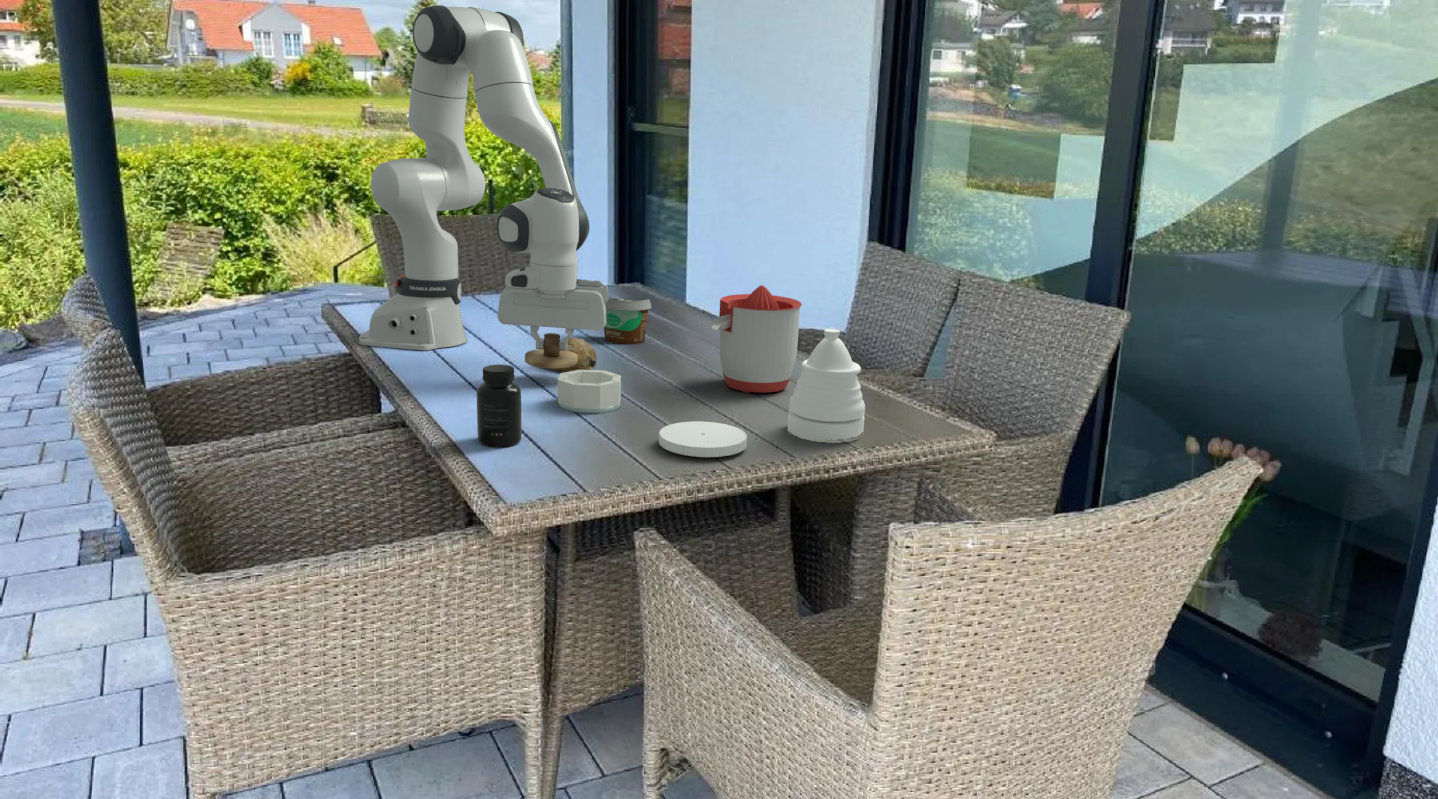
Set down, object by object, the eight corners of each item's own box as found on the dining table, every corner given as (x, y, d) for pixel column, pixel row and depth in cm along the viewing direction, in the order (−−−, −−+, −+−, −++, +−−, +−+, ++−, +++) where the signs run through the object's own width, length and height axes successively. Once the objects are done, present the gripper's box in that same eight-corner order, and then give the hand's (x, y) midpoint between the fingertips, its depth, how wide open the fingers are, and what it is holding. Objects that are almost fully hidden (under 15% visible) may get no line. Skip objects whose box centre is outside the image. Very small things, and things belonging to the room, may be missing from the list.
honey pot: (861, 446, 176) (870, 339, 171) (783, 439, 178) (790, 332, 173) (864, 425, 188) (873, 324, 184) (791, 418, 190) (798, 318, 186)
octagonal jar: (554, 412, 187) (554, 384, 186) (562, 395, 198) (562, 368, 196) (618, 414, 187) (618, 386, 186) (622, 397, 198) (622, 371, 197)
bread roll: (577, 392, 214) (594, 358, 212) (533, 366, 215) (549, 332, 212) (592, 380, 223) (609, 348, 221) (550, 355, 224) (566, 323, 221)
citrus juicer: (696, 379, 214) (700, 279, 208) (775, 375, 220) (781, 277, 215) (725, 400, 200) (731, 293, 194) (809, 395, 206) (817, 291, 201)
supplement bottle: (480, 434, 173) (479, 361, 170) (523, 435, 174) (523, 363, 170) (474, 447, 166) (473, 372, 163) (519, 448, 167) (519, 373, 164)
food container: (588, 341, 242) (589, 297, 239) (601, 336, 248) (602, 293, 245) (638, 348, 238) (639, 303, 235) (650, 343, 243) (651, 299, 241)
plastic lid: (763, 455, 171) (764, 439, 170) (690, 468, 163) (691, 452, 162) (713, 431, 182) (713, 417, 181) (642, 443, 174) (642, 428, 173)
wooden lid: (522, 367, 201) (523, 340, 199) (526, 353, 210) (527, 327, 209) (576, 369, 202) (577, 342, 200) (578, 356, 211) (579, 330, 210)
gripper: (610, 278, 205) (607, 348, 209) (502, 271, 204) (501, 342, 208) (607, 284, 199) (604, 357, 203) (496, 277, 198) (495, 350, 202)
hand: (551, 349), depth 205 cm, fingers closed on wooden lid, 3 cm apart
